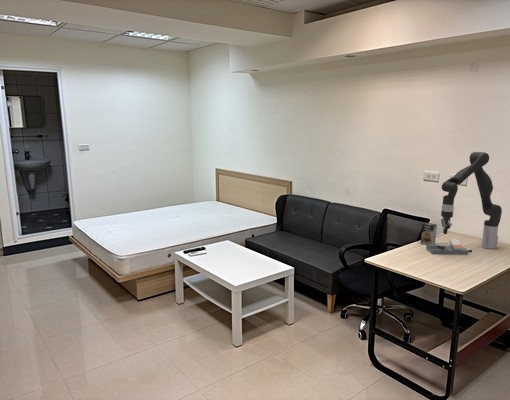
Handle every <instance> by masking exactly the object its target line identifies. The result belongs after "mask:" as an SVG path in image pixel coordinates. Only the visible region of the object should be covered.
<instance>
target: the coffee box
mask: <svg viewBox="0 0 510 400" xmlns="http://www.w3.org/2000/svg"><path fill="white" fill-rule="evenodd" d="M437 229H438V224H437V223H430V222H423V223H422V225H421V236H420V244H421V245H426V246H427V245H434V244H435V242H436V241H437V240H436V239H437Z"/></svg>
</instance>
